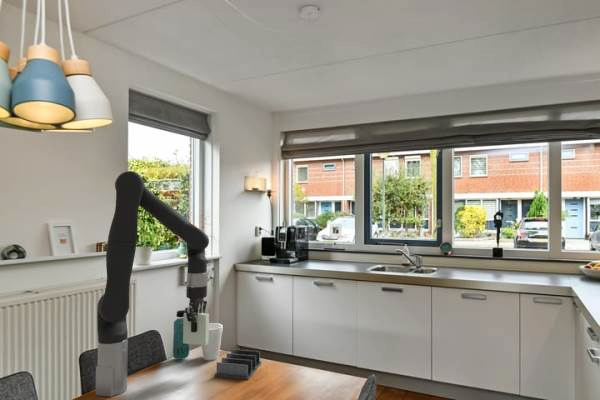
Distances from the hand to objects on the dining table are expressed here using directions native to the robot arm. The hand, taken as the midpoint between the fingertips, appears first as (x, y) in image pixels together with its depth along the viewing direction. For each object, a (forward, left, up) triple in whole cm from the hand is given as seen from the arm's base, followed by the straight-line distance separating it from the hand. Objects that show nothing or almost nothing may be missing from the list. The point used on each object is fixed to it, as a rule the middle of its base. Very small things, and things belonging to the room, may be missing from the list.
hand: (195, 330), depth 154 cm
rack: (+8, -14, -16) cm, 23 cm away
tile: (0, 0, -5) cm, 5 cm away
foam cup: (+18, +2, -17) cm, 25 cm away
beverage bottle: (+13, +13, -17) cm, 25 cm away
